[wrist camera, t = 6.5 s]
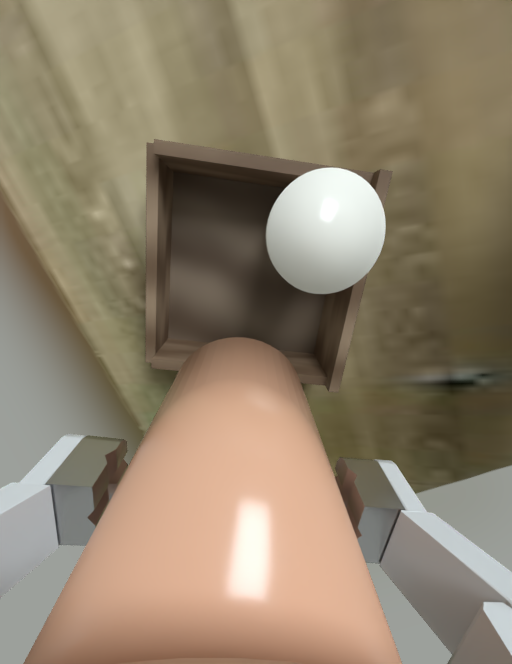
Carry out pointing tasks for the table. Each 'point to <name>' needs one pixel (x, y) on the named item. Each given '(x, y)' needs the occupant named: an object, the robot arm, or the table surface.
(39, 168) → the table surface
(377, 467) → the robot arm
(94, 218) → the table surface
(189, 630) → the peach mushroom knob
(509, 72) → the table surface
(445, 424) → the table surface
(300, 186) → the white glossy domed part
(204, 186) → the wooden tray
